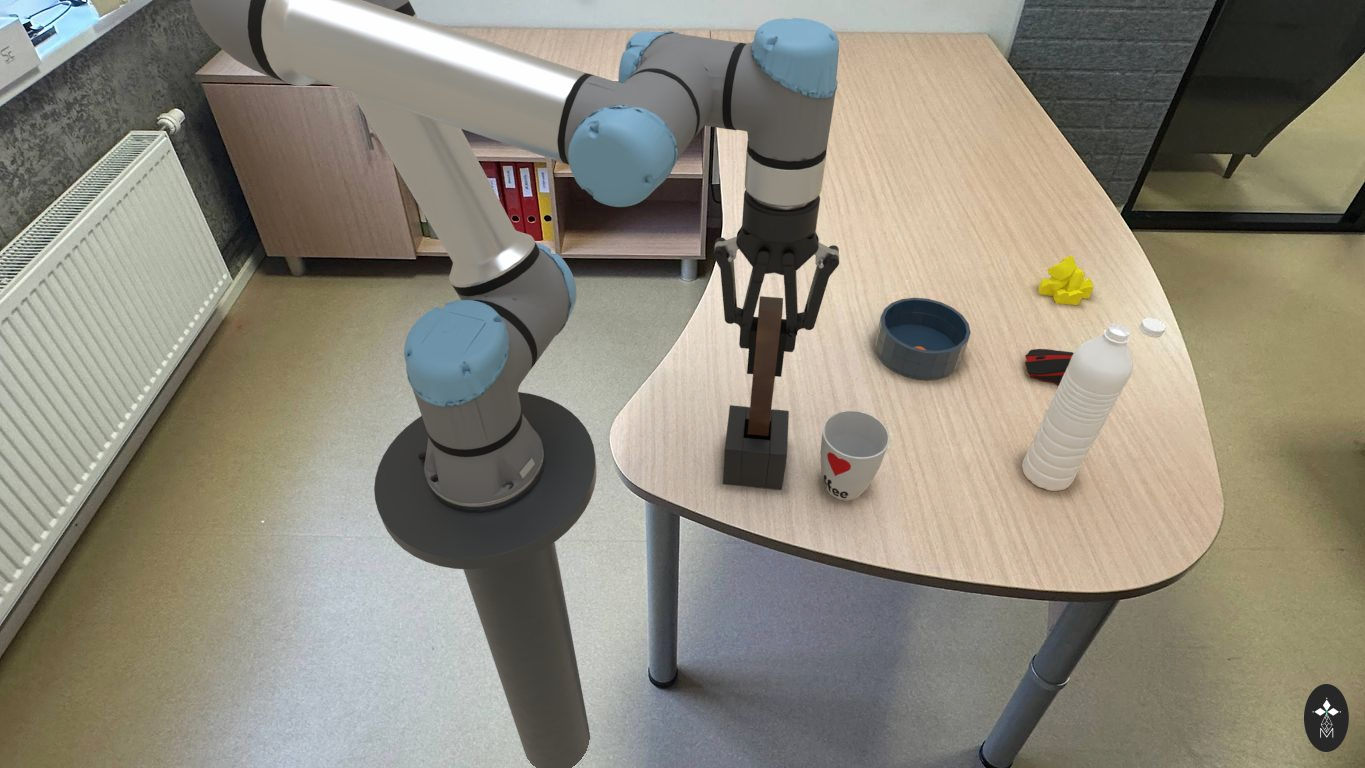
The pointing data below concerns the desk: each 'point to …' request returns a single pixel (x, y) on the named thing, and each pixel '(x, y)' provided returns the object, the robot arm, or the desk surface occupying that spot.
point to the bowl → (921, 338)
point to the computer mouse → (1047, 364)
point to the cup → (851, 452)
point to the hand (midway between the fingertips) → (764, 367)
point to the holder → (755, 451)
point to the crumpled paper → (1066, 283)
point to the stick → (765, 364)
